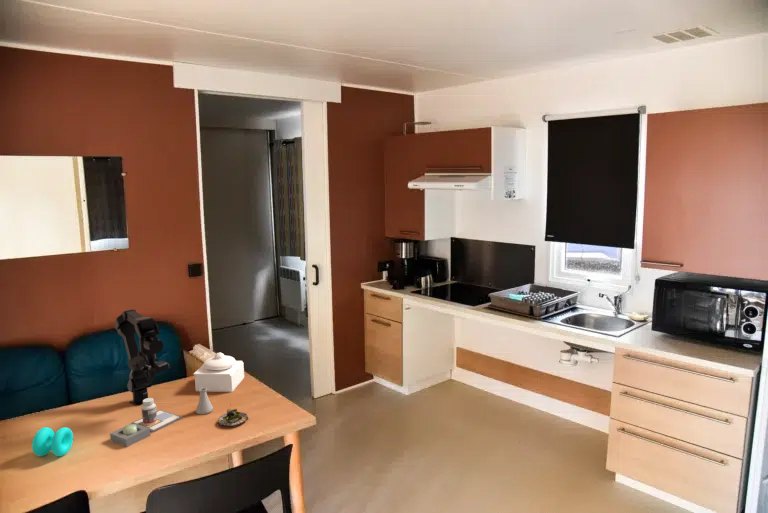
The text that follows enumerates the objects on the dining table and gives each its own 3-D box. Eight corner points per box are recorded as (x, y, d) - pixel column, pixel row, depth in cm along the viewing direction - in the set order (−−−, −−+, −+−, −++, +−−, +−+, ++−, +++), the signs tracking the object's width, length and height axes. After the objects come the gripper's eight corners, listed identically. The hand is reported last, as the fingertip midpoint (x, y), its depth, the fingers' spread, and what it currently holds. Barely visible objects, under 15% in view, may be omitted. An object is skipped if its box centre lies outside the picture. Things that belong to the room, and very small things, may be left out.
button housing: (110, 440, 204) (109, 433, 203) (134, 429, 212) (133, 422, 212) (127, 447, 199) (126, 439, 198) (150, 435, 207) (149, 428, 207)
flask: (216, 407, 231) (214, 385, 229) (209, 415, 224) (207, 392, 222) (199, 407, 232) (198, 385, 230) (192, 414, 224) (190, 392, 223)
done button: (121, 438, 205) (120, 428, 204) (132, 432, 209) (131, 423, 208) (128, 441, 202) (127, 431, 202) (140, 435, 206) (139, 425, 206)
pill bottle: (140, 422, 216) (138, 400, 215) (153, 418, 220) (151, 395, 219) (146, 426, 213) (144, 403, 211) (159, 422, 217) (157, 399, 215)
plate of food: (216, 430, 211) (215, 413, 210) (219, 417, 222) (218, 400, 221) (247, 427, 214) (246, 409, 212) (248, 414, 225) (247, 397, 224)
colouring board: (130, 424, 217) (130, 422, 216) (160, 410, 228) (160, 409, 228) (153, 432, 210) (153, 430, 209) (182, 418, 222) (182, 416, 221)
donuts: (50, 447, 200) (47, 422, 198) (76, 447, 199) (73, 422, 198) (32, 461, 190) (28, 435, 188) (59, 461, 190) (56, 435, 188)
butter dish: (232, 392, 247) (230, 359, 244) (194, 391, 248) (192, 359, 246) (244, 377, 264) (242, 347, 262) (209, 377, 266) (207, 346, 263)
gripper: (115, 350, 221) (119, 385, 223) (144, 357, 212) (148, 394, 214) (139, 342, 230) (143, 376, 233) (168, 349, 221) (171, 384, 224)
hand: (150, 383), depth 226 cm, fingers closed
